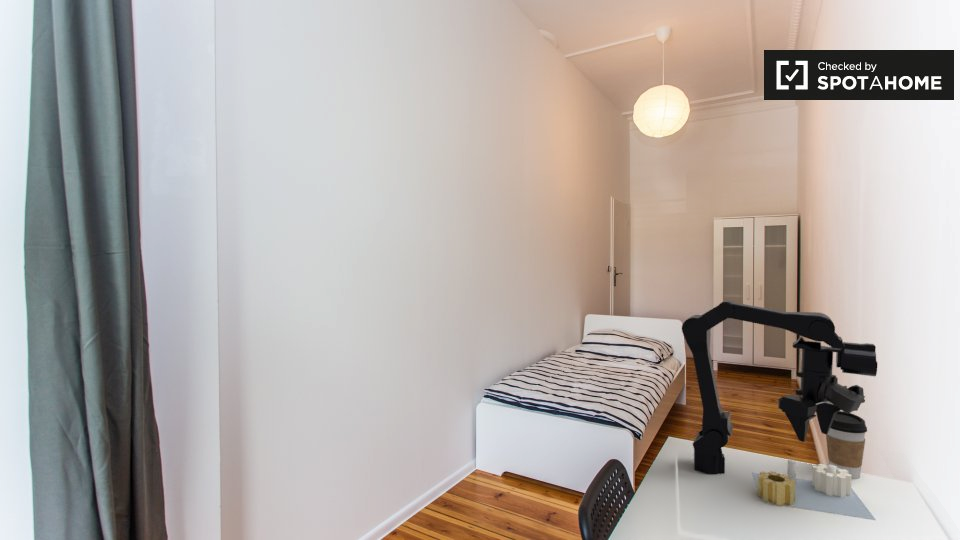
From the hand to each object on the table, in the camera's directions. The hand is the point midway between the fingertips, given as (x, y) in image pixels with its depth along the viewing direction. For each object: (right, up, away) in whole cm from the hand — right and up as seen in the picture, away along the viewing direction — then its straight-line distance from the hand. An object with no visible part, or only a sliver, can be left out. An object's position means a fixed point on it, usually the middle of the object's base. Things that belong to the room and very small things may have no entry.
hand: (813, 437), depth 108 cm
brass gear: (-10, -13, -2) cm, 16 cm away
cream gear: (+5, -12, +1) cm, 13 cm away
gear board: (-2, -13, -1) cm, 13 cm away
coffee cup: (+14, -13, +9) cm, 21 cm away
